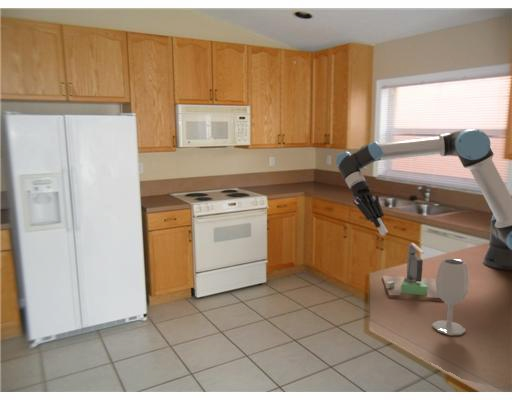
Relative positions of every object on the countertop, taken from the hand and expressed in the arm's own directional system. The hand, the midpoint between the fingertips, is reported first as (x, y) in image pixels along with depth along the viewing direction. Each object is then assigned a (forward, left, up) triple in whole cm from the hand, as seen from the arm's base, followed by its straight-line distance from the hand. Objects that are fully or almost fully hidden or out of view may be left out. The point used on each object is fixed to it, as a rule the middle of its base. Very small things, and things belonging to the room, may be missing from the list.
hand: (384, 233), depth 162 cm
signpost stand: (-13, +7, -17) cm, 22 cm away
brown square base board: (-12, +7, -18) cm, 23 cm away
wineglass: (-27, +35, -19) cm, 48 cm away
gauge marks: (-11, +13, -17) cm, 24 cm away
